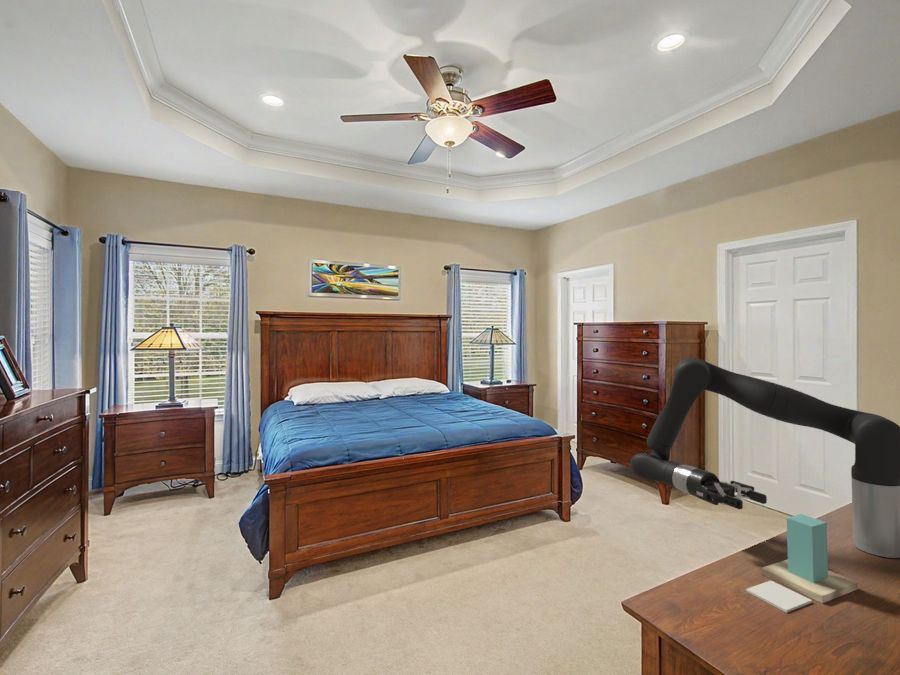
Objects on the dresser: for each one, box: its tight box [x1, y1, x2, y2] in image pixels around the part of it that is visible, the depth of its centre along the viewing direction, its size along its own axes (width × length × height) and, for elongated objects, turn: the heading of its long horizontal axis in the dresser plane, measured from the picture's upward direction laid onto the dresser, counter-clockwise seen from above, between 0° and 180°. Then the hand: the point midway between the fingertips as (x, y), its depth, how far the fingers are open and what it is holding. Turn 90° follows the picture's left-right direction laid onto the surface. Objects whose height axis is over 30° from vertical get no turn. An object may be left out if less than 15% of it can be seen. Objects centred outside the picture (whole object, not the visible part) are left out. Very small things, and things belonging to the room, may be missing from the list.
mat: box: [745, 580, 813, 614], centre depth 92 cm, size 8×8×1 cm
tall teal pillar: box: [786, 513, 829, 583], centre depth 98 cm, size 5×5×12 cm
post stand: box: [761, 558, 859, 604], centre depth 98 cm, size 12×12×6 cm
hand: (753, 502), depth 108 cm, fingers open, 8 cm apart
